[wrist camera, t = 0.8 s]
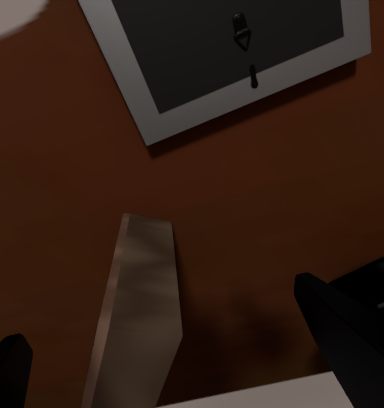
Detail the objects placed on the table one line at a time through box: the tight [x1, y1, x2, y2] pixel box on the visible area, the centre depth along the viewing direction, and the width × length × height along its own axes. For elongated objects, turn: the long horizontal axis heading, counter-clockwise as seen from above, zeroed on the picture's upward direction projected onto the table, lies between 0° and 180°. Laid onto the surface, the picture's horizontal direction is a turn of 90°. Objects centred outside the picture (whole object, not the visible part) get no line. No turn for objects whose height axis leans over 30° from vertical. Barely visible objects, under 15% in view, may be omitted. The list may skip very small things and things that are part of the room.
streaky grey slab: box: [81, 213, 183, 408], centre depth 19 cm, size 4×7×11 cm, turn 164°
